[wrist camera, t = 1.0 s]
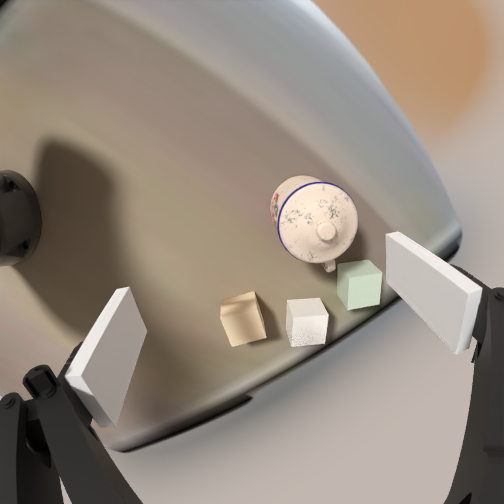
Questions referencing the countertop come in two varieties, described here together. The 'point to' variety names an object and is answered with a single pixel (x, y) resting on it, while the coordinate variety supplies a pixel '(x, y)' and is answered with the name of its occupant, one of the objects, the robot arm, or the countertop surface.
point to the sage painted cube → (358, 284)
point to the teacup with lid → (314, 219)
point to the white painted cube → (306, 322)
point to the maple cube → (242, 319)
